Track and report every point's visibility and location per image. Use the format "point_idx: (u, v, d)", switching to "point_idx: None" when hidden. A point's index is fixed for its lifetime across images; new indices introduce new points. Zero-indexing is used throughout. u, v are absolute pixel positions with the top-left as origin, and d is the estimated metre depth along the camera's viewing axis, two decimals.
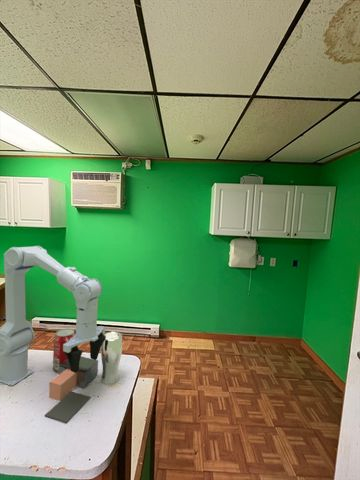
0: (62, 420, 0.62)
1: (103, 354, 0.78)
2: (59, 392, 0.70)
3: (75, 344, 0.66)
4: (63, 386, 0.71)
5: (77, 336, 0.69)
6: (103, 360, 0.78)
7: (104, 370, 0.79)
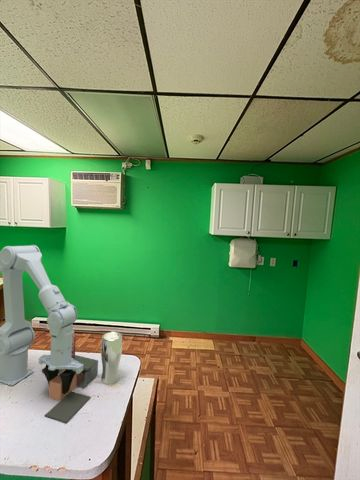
0: (62, 420, 0.62)
1: (103, 354, 0.78)
2: (59, 391, 0.70)
3: (43, 360, 0.72)
4: None
5: None
6: (103, 360, 0.78)
7: (104, 370, 0.79)
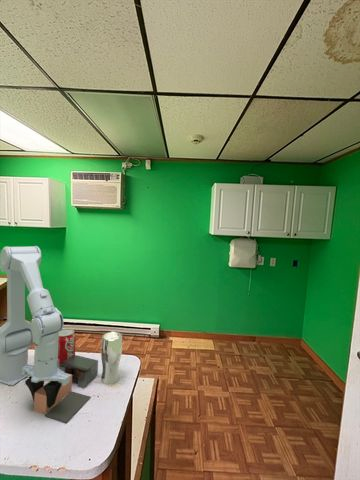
0: (62, 420, 0.62)
1: (103, 354, 0.78)
2: (45, 404, 0.65)
3: (26, 371, 0.66)
4: None
5: None
6: (103, 360, 0.78)
7: (104, 370, 0.79)
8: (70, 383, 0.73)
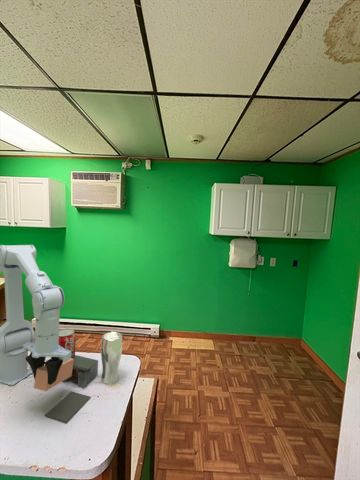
0: (62, 420, 0.62)
1: (103, 354, 0.78)
2: (46, 380, 0.64)
3: (27, 347, 0.65)
4: None
5: None
6: (103, 360, 0.78)
7: (104, 370, 0.79)
8: (71, 367, 0.72)
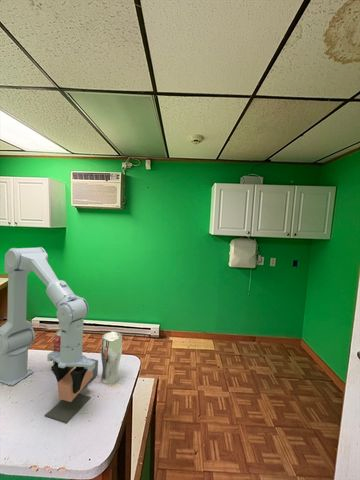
0: (62, 420, 0.62)
1: (103, 354, 0.78)
2: (69, 393, 0.65)
3: (52, 357, 0.67)
4: None
5: None
6: (103, 360, 0.78)
7: (104, 370, 0.79)
8: None
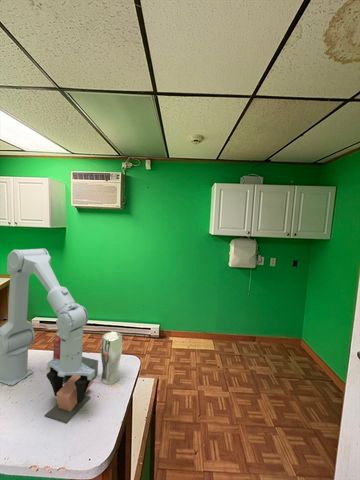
0: (62, 420, 0.62)
1: (103, 354, 0.78)
2: (68, 403, 0.65)
3: (51, 366, 0.67)
4: (72, 396, 0.66)
5: None
6: (103, 360, 0.78)
7: (104, 370, 0.79)
8: None
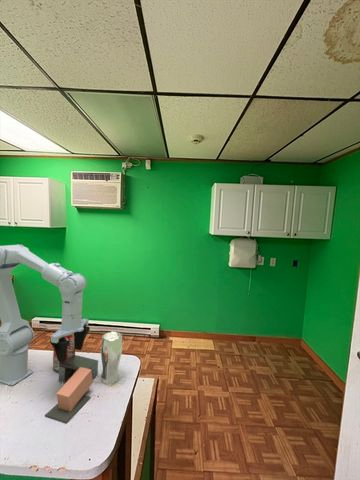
0: (62, 420, 0.62)
1: (103, 354, 0.78)
2: (68, 403, 0.65)
3: (62, 335, 0.70)
4: (72, 396, 0.66)
5: (63, 328, 0.72)
6: (103, 360, 0.78)
7: (104, 370, 0.79)
8: (90, 377, 0.73)
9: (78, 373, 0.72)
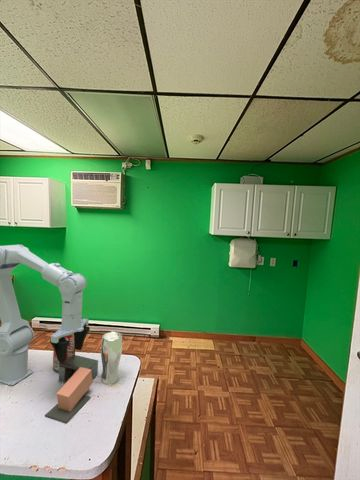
0: (62, 420, 0.62)
1: (103, 354, 0.78)
2: (68, 403, 0.65)
3: (62, 335, 0.70)
4: (72, 396, 0.66)
5: (63, 328, 0.72)
6: (103, 360, 0.78)
7: (104, 370, 0.79)
8: (90, 377, 0.73)
9: (78, 373, 0.72)
